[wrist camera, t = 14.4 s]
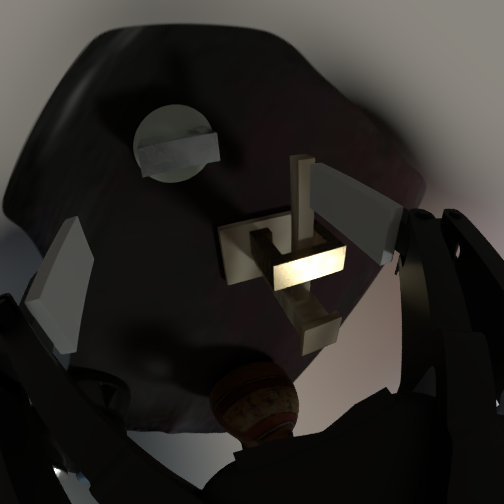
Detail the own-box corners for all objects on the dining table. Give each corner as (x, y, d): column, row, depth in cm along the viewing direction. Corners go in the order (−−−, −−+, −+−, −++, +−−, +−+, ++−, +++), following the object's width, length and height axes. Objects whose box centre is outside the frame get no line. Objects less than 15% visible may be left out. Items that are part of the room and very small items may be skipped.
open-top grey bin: (144, 162, 31) (142, 177, 25) (140, 139, 29) (136, 149, 24) (207, 148, 33) (220, 160, 27) (205, 126, 31) (217, 132, 25)
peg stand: (226, 280, 45) (270, 379, 30) (205, 141, 33) (260, 188, 17) (293, 262, 48) (357, 344, 32) (291, 129, 35) (396, 168, 20)
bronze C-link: (251, 253, 32) (274, 291, 27) (249, 231, 31) (273, 266, 25) (311, 238, 34) (342, 269, 29) (312, 216, 33) (346, 245, 27)
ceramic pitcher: (296, 361, 66) (353, 458, 43) (247, 402, 71) (286, 491, 47) (240, 345, 55) (299, 475, 31) (189, 393, 60) (224, 505, 36)
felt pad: (142, 189, 33) (142, 190, 33) (127, 114, 27) (127, 114, 27) (217, 172, 35) (217, 173, 35) (208, 98, 30) (209, 98, 29)
